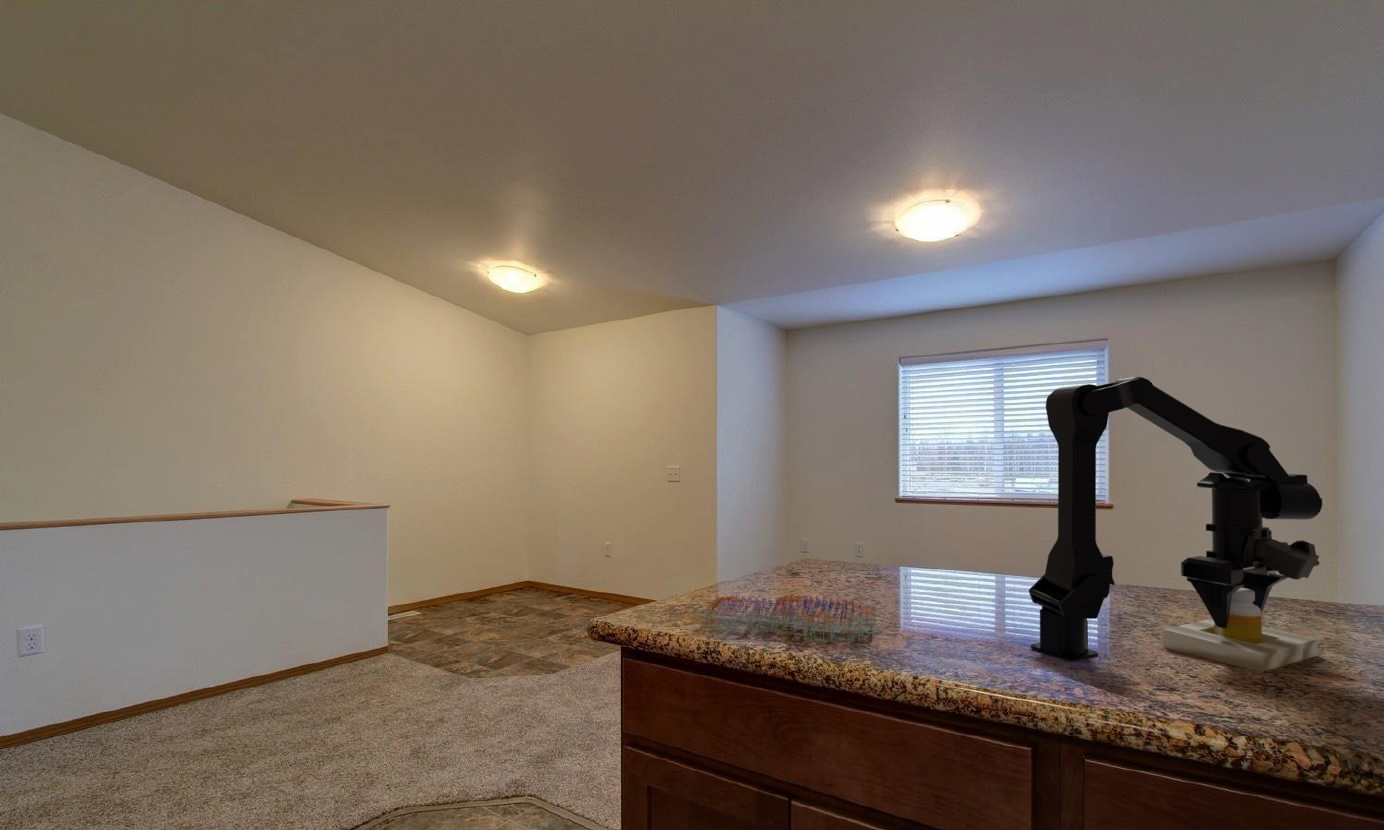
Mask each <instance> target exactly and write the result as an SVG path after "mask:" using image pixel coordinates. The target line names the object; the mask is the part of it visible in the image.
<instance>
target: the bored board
mask: <svg viewBox="0 0 1384 830" xmlns="http://www.w3.org/2000/svg"><path fill="white" fill-rule="evenodd" d="M1162 647H1163V649H1169V650H1172V651H1177V652H1181V653H1185V654H1188V655H1192V656H1196V657H1200V658H1205V659H1209V660H1212V661H1215V662H1220V663H1224V664H1229V665H1232V666H1236V667H1240V668H1244V669H1249V670H1253V671H1257V672H1260V673H1263V672H1266V671H1267V672H1268V671H1271V670H1273V669H1277V668H1280V667H1284V666H1287V665H1291V664H1294V663H1298V662H1302V661H1305V660H1307V659H1312V658H1314V657H1318V638H1314V637H1310V636H1305V635H1301V634H1296V633H1292V632H1287V631H1283V630H1280V629H1279V630H1278V629H1274V628H1270V627H1267V626H1266V627H1262V643H1259V644H1252V643H1248V642H1244V641H1240V640H1236V639H1232V638H1228V637H1223V636H1219V635H1215V634H1214V620H1213V619H1212V618H1208V619H1204V620H1199V621H1195V622H1191V623H1190V622H1189V623H1186V624H1181V625H1177V626H1171V627H1168V628H1162ZM1311 657H1312V658H1311Z"/></svg>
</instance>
